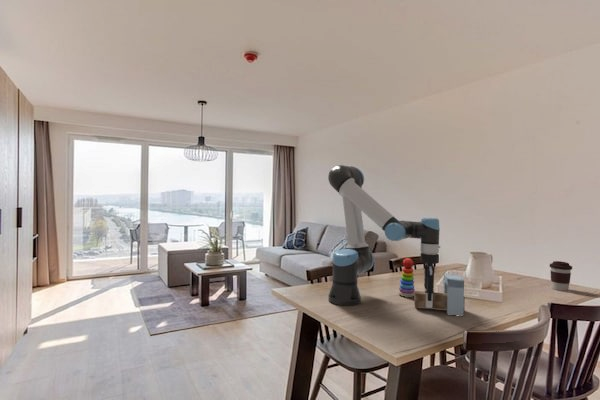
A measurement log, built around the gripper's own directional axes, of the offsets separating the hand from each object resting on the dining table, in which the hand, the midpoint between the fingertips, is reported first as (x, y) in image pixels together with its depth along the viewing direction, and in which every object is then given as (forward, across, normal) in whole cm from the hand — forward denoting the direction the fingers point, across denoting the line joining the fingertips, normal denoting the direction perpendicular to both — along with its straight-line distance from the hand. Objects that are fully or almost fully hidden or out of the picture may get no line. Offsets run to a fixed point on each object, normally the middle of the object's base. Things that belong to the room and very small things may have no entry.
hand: (428, 305), depth 151 cm
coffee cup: (+2, +57, -75) cm, 94 cm away
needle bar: (0, 0, -4) cm, 4 cm away
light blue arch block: (+2, 0, -10) cm, 10 cm away
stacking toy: (+2, +19, +8) cm, 21 cm away
